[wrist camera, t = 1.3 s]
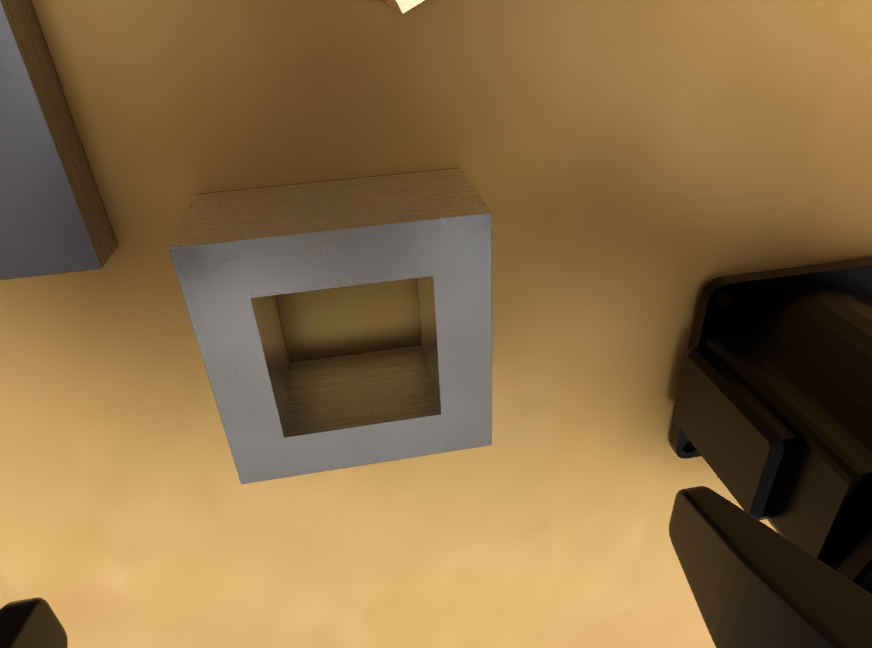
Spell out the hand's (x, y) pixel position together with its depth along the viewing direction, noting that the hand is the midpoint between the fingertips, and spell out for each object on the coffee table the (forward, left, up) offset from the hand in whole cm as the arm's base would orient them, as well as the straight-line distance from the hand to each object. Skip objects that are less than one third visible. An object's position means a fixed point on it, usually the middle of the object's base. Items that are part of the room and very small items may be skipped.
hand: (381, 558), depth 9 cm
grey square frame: (0, 0, -8) cm, 8 cm away
